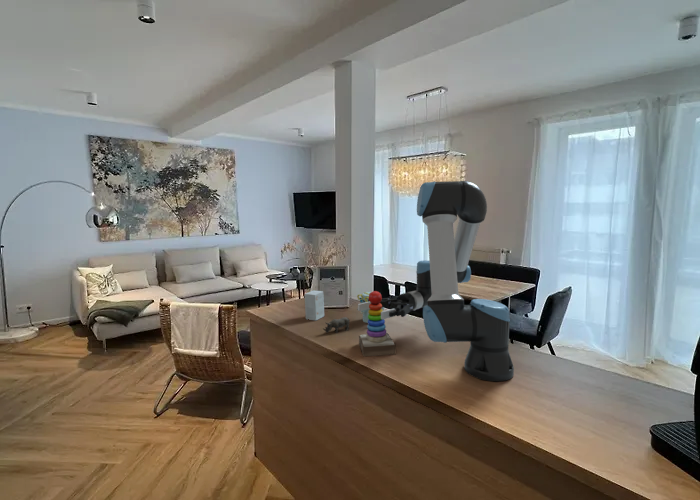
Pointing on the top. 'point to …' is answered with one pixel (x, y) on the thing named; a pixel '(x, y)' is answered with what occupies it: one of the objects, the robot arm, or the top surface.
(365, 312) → the character sculpture
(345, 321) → the rhino figurine
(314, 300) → the small box
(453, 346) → the top surface
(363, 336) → the pedestal
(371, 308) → the stacking toy
